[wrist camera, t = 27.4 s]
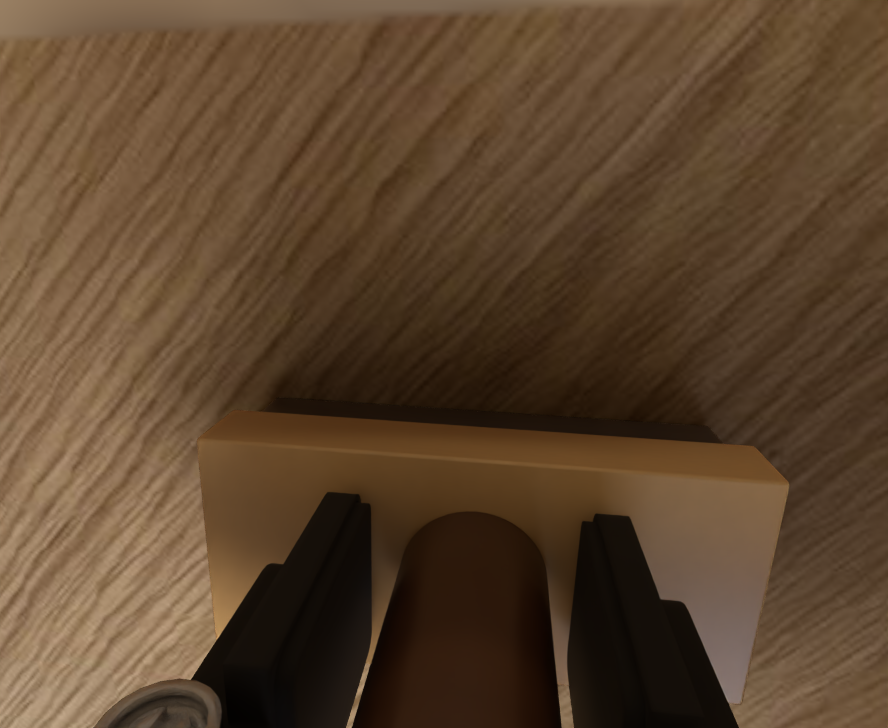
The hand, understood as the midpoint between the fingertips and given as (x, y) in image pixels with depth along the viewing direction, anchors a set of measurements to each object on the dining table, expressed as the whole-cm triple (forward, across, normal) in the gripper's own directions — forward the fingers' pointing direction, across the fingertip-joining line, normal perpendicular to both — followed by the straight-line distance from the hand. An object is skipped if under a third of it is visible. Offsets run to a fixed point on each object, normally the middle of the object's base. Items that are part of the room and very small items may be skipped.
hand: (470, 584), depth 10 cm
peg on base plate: (+3, 0, 0) cm, 3 cm away
